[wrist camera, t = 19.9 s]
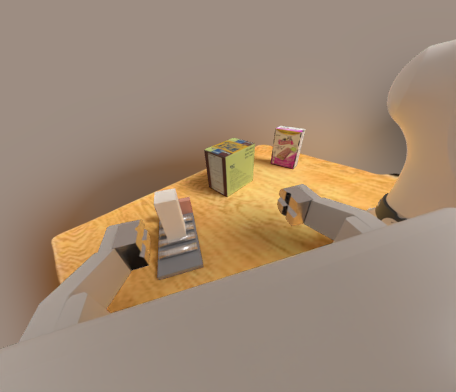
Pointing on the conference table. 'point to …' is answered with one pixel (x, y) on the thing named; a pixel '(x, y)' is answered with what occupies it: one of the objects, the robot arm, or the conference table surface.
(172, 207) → the wooden block
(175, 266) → the roller track
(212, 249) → the conference table surface
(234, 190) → the protein box
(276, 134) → the candy bar box
